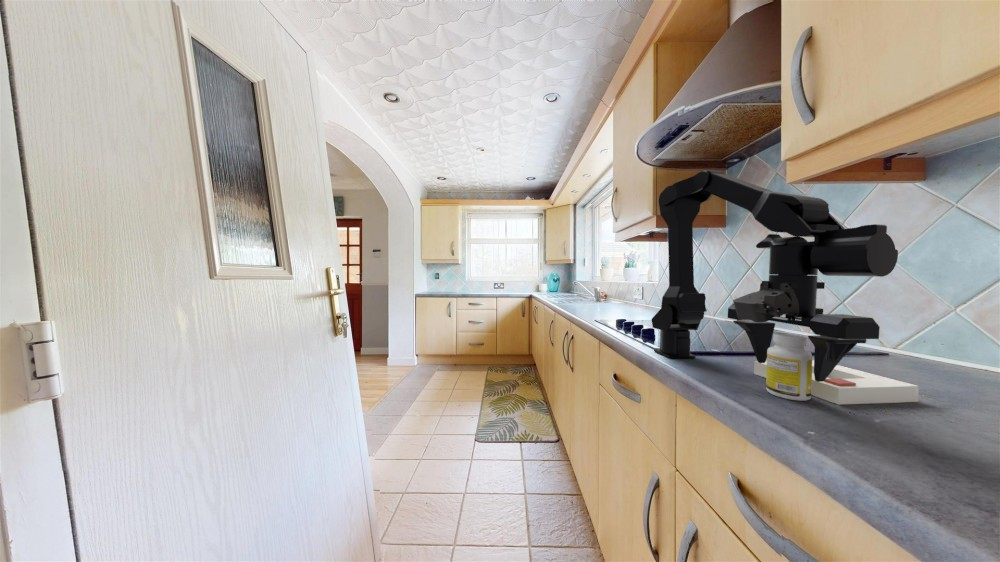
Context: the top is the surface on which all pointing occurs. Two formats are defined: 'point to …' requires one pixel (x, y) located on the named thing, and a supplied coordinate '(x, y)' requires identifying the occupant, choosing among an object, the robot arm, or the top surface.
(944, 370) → the top surface
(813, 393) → the socket plate
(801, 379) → the supplement bottle
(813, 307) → the robot arm
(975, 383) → the top surface
